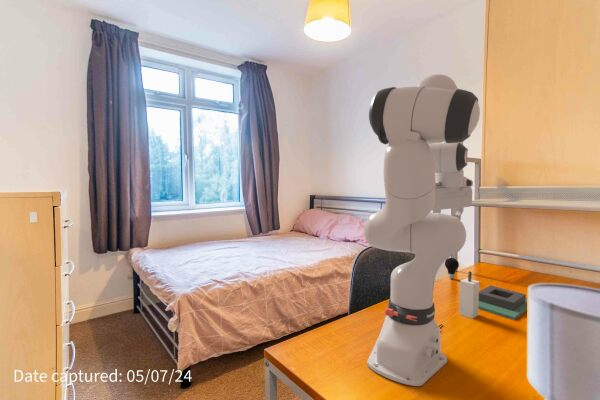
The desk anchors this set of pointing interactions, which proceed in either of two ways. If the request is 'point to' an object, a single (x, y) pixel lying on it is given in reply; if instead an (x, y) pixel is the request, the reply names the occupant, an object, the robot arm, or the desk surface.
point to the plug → (469, 297)
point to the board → (503, 311)
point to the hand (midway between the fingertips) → (448, 221)
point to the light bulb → (451, 266)
